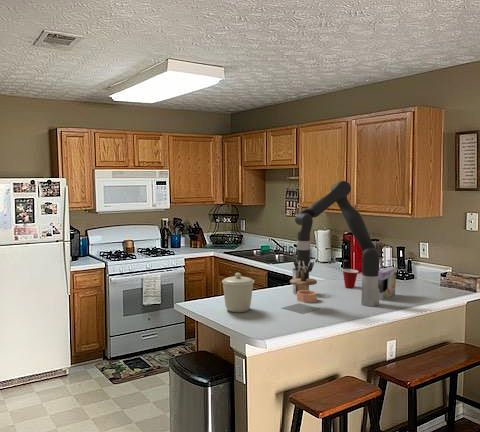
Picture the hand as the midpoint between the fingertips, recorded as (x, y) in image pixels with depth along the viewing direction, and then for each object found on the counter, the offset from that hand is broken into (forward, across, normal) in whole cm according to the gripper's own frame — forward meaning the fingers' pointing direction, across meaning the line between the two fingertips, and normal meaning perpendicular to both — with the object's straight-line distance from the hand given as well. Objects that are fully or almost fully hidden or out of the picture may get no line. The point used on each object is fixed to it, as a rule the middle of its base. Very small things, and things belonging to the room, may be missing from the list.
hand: (303, 278), depth 280 cm
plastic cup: (+17, +10, -63) cm, 66 cm away
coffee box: (+17, +22, -25) cm, 38 cm away
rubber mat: (+17, -1, +3) cm, 17 cm away
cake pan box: (+18, -19, -56) cm, 62 cm away
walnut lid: (+2, 0, 0) cm, 2 cm away
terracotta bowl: (+17, +9, -14) cm, 23 cm away
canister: (+17, +22, +31) cm, 41 cm away
